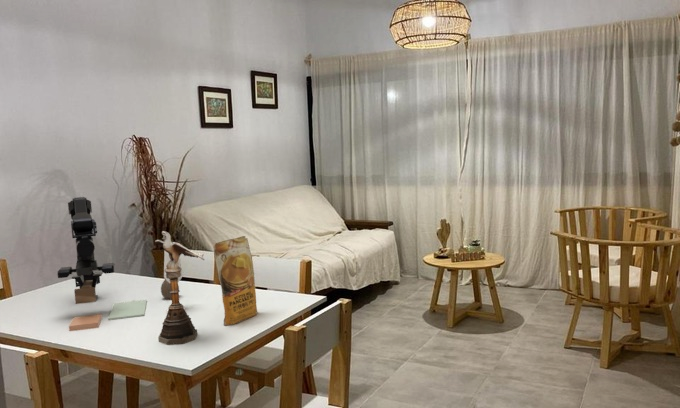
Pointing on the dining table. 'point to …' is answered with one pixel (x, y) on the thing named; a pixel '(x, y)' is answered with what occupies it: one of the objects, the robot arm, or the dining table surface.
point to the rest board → (128, 309)
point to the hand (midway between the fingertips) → (89, 293)
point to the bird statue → (176, 297)
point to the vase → (166, 289)
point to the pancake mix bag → (236, 279)
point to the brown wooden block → (85, 293)
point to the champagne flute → (166, 260)
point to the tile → (85, 322)
